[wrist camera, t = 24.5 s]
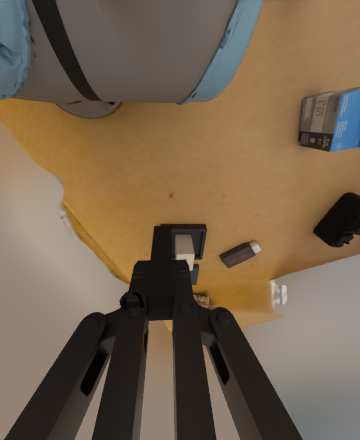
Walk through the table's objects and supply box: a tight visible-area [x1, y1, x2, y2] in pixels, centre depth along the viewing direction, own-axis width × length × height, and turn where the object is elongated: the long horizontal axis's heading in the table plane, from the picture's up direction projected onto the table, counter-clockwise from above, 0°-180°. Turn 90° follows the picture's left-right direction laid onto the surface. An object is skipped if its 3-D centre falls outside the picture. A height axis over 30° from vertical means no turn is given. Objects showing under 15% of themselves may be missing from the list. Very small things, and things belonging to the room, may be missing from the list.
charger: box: [175, 235, 195, 271], centre depth 45 cm, size 4×6×9 cm
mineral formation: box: [193, 295, 216, 310], centre depth 65 cm, size 8×13×15 cm
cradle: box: [161, 224, 207, 260], centre depth 48 cm, size 13×12×2 cm
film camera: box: [314, 193, 360, 247], centre depth 44 cm, size 15×10×9 cm, turn 164°
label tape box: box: [298, 87, 360, 152], centre depth 29 cm, size 9×4×12 cm, turn 15°
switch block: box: [190, 264, 199, 285], centre depth 56 cm, size 12×9×4 cm
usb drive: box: [220, 241, 261, 268], centre depth 52 cm, size 5×12×3 cm, turn 124°
